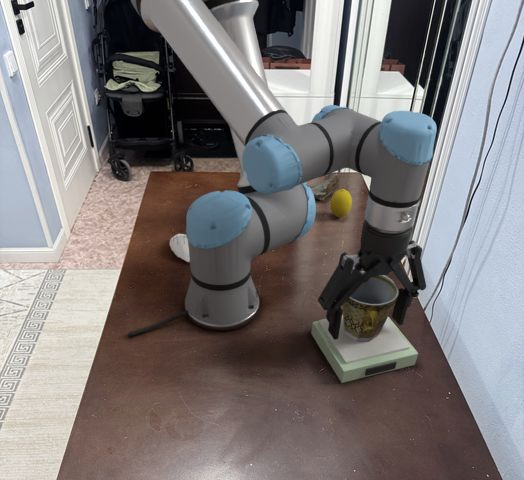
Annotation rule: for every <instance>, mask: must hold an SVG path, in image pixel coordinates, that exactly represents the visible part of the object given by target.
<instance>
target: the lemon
mask: <svg viewBox="0 0 524 480" xmlns="http://www.w3.org/2000/svg"><path fill="white" fill-rule="evenodd" d="M352 205H353V198H352V196H351V193H350V192H349V191H348V190H346V189H344V188H341V189H337V190H335V191H334V193H333V194H332V196H331V199H330V205H329V206H330V211H331V213H332V214H333V215H334V216H335V217H337V218H338V219H341V218H343V217H345V216H347V215H348V214H349V213H350V211H351V209H352Z"/></svg>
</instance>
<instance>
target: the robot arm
mask: <svg viewBox="0 0 524 480" xmlns="http://www.w3.org/2000/svg"><path fill="white" fill-rule="evenodd" d="M130 3H131V5H132V6H133V8H134V9H135V11H136V13H137V15H138V16H139V17H140V18H141V20H142V21H143V22H144V24H145V25H146V26H147V27H148V28H149V29H150V30H151V31H153V32H155V33H160V34H161V35H162V37H163V39H165V40H166V42H167V43H168V45H169V46H170V47H171V49H172V50H173V51H174V53H175V54H176V55H177V57H178V59H179V60H180V61H181V62H182V64H183V65H184V66H185V68H186V69H187V71H188V72H189V73H190V74H191V76H192V77H193V79H194V80H195V81H196V83H197V84H198V85H199V87H200V88H201V90H202V91H203V92H204V93H205V95H206V96H207V97H208V99H209V100H210V102H211V103H212V104H213V106H214V107H215V108H216V110H217V111H218V112H219V114H220V115H221V117H222V118H223V120H225V122H226V123H227V124H228V126H229V129H230V133H231V138H232V141H233V144H234V148H235V153H236V155H237V156H236V157H237V160H238V164H239V168H240V171H241V172H242V175H241V178H240V177H239V180H238V181H237V184H236V188H237V191H236V190H227V189H226V190H224V191H220V190H216V191H211V192H208V193H205V194H202V195H201V196H199V197H198V198H197V199H195V200H194V201H193V202H192V203H191V204H190V206H189V208H188V210H187V213H186V221H185V222H186V227H185V234H186V236H187V239H188V248H189V257H190V262H189V266H190V274H191V275H190V276H191V278H190V282H189V285H188V288H187V292H186V295H185V299H184V307H185V308H184V309H185V310H184V311H182V312H179V313H177V314H173V315H172V316H169V317H167V318H164V319H162V320H160V321H157V322H156V323H153V324H150V325H148V326H145V327H142V328H139V329H136V330H133V331H129V332H127V334H128V336H129V337H133V336H137V335H140V334H143V333H146V332H149V331H152V330H154V329H156V328H159V327H161V326H164V325H166V324H169V323H171V322H173V321H175V320H177V319H181V318H182V317H185V316H186V317H187V318H188V320H189V321H190V322H191V323H193V325H196V326H197V327H199V328H202V329H204V330H207V331H213V332H230V331H234V330H235V331H236V330H239V329H241V328H243V327H246V326H248V325H249V324H250V323H252V322H253V321H254V320H255V319H256V318H257V316H258V314H259V311H260V296H259V295H261V289H260V285H259V284H257V289H258V292H257V289H256V286H255V283H254V281H253V279H252V276H251V267H252V266H251V265H252V264H251V262H252V260H253V259H255V258H257V257H260V256H262V255H265V254H267V253H269V252H271V251H273V250H275V249H279V248H280V247H282V246H285V245H287V244H288V245H289V244H292V243H294V242H295V241H297V240H298V239H300V238H302V237H303V236H305V235H307V234H308V232H310V230H311V227H312V226H313V224H314V222H315V220H316V219H315V218H316V213H317V212H316V211H317V208H316V207H317V205H316V198H315V197H314V195H313V192H312V190H311V188H310V187H311V186H310V187H309V186H308V183H307V182H310V181H313V180H314V179H317V178H322V177H324V176H326V175H329V174H333V173H336V172H339V171H340V170H341V171H342V170H343V169H349V170H352V171H354V172H355V173H359V174H361V175H363V176H366V177H370V183H369V190H368V196H367V201H366V204H365V205H366V206H365V211H364V220H363V222H362V229H361V233H360V248H359V251H357V253H356V254H349V253H348V252H346V251H344V252H342V253H341V254H340V256H339V261H338V264H337V266H336V268H335V269H334V271H333V273H332V275H331V276H330V278H329V280H327V281H328V282H326V285H325V286H324V288H323V290H322V291H321V293H320V295H319V296H318V298H317V302H318V304H320V306H321V308H322V309H323V310H324V311H326V316H325V319H327V320H328V322H329V327H328V331H329V333H330V334H331V336H332V337H333V339H334V340H336V339H338V336H339V331H340V325H341V319H342V315H343V308H342V307H343V304H344V303H345V302H346V301H347V300H348V299H349V297H350V296H351V295H352V294H353V293H354V292H355V291H356V290H357V289H358V288H359V287H360V285H361V284H362V283H366V282H367V281H368V280H369V279H370V278H371V277H377V276H379V275H385V276H387V275H390V273H393V274H394V275H395V277H396V279H397V280H398V281H399V282H400V284H401V285H402V287H400V288H398V289H399V294H398V297H397V300H396V302H395V304H394V306H393V309H392V310H393V311H392V313H391V318H392V319H393V321H395V322H396V324H397V325H398V326H402V325H404V320H405V317H406V314H407V310H408V308H410V307H411V305H412V302H413V299H416V298H418V297H419V295H420V292H418V291H424V290H426V289H427V282H426V277H425V273H424V267H423V263H422V254H423V248H422V247H421V245H420V244H418V243H417V242H416V240H414V239H412V240H411V236H412V232H413V226H414V225H415V221H416V216H417V212H418V208H419V205H420V202H421V196H422V191H423V188H424V184H425V180H426V177H427V173H428V169H429V167H430V162H431V159H433V156H434V147H435V142H436V141H435V140H436V136H437V132H438V131H437V124H436V122H435V120H434V119H433V118H432V117H430V116H429V115H427V114H425V113H422V112H419V111H418V112H416V111H415V112H414V111H410V110H395V111H390V112H389V113H387V114H385V116H383V118H382V120H379V119H377V118H374V117H371V116H368V115H365V114H363V113H360V112H359V111H356V110H354V109H353V108H350V107H347V106H341V105H335V104H329V105H326V106H324V107H322V108H321V109H320V111H319V112H317V113H315V115H314V117H313V118H312V119H311V122H307V123H304V124H300V125H298V124H297V123H296V122H295V121H294V119H293V118H292V116H291V115H290V114H289V113H288V112H287V110H286V109H285V108H284V106H283V105H282V103H281V102H280V101H279V99H278V98H277V97H276V96H275V95H274V93H273V91H271V89H270V88H269V85H268V80H267V75H266V71H265V67H264V62H263V57H262V53H261V48H260V45H259V40H258V35H257V33H256V28H255V23H254V16H255V14H256V12H257V9H258V7H259V0H130ZM405 257H406V258H407V262H408V266H409V270H410V274H411V275H410V276H411V279H412V281H411V280H410V279H409V277H408V275H406V273H405V272H404V270H403V268H402V266H401V265H400V263H401V261H403V259H404V258H405ZM361 271H365V274H364V275H363V274H362V272H361Z"/></svg>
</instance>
